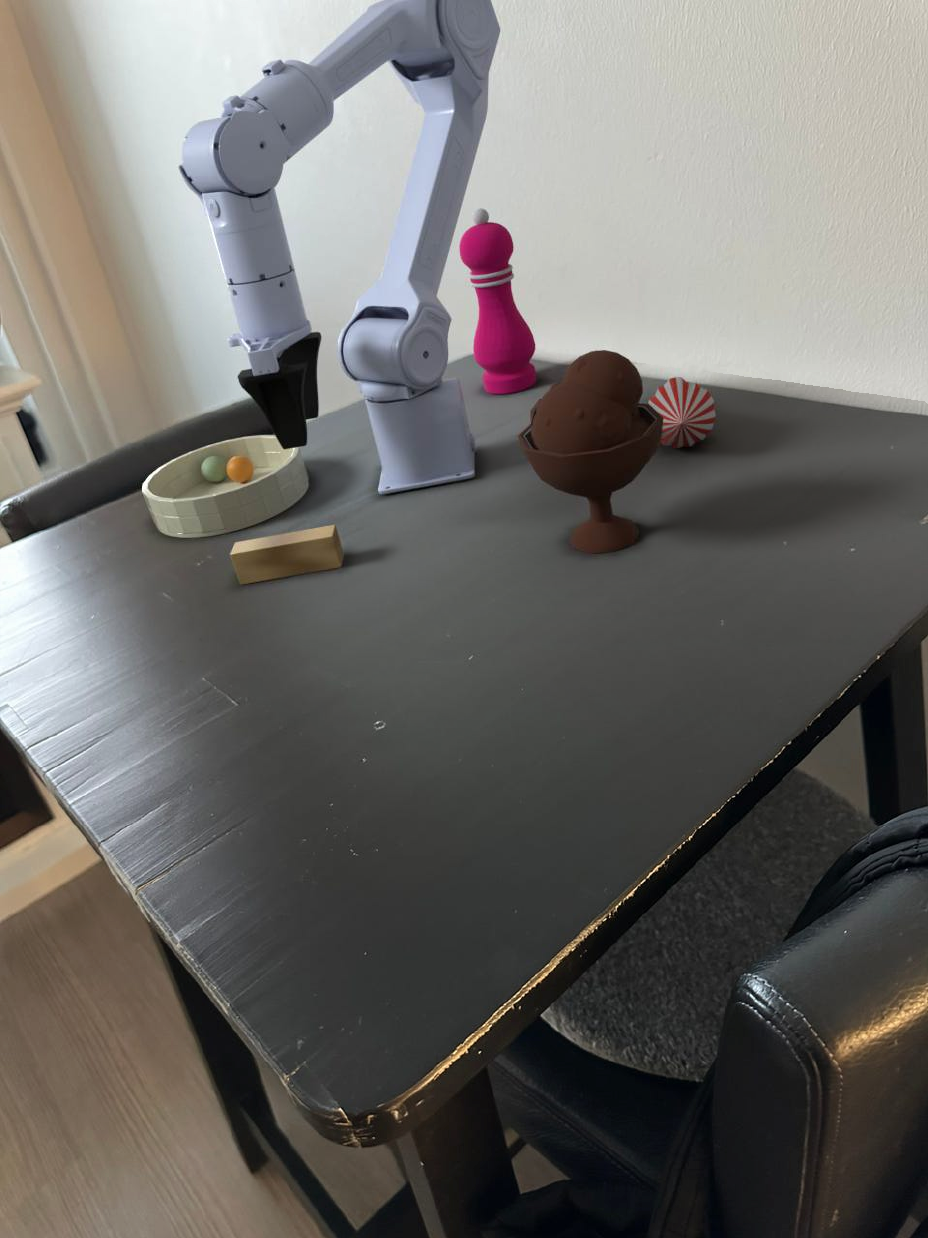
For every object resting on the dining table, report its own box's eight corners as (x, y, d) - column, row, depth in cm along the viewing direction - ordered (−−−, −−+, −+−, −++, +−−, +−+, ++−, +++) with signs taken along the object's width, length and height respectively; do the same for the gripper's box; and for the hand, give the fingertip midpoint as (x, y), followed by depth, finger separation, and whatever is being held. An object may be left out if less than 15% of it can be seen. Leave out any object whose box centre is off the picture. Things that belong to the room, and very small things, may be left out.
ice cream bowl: (592, 499, 89) (568, 328, 82) (701, 521, 82) (684, 336, 74) (510, 552, 84) (476, 374, 76) (618, 581, 76) (592, 387, 69)
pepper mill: (476, 399, 119) (441, 220, 109) (485, 379, 125) (452, 208, 115) (537, 391, 118) (507, 208, 108) (544, 371, 124) (515, 196, 114)
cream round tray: (318, 458, 112) (308, 424, 110) (297, 520, 98) (285, 482, 96) (177, 485, 114) (165, 451, 112) (136, 549, 100) (122, 512, 98)
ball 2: (257, 460, 110) (253, 456, 107) (252, 486, 110) (249, 482, 107) (231, 455, 110) (226, 451, 107) (227, 481, 110) (222, 478, 107)
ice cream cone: (690, 440, 108) (698, 472, 89) (635, 414, 108) (632, 440, 89) (719, 385, 105) (734, 406, 87) (663, 358, 106) (666, 374, 87)
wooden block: (344, 554, 90) (335, 524, 88) (341, 567, 88) (332, 536, 86) (245, 572, 90) (235, 542, 89) (240, 585, 88) (229, 554, 87)
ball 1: (237, 473, 111) (225, 454, 112) (221, 468, 108) (210, 447, 109) (219, 489, 112) (207, 470, 112) (203, 484, 109) (191, 464, 110)
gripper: (231, 268, 92) (271, 414, 98) (193, 303, 79) (242, 467, 85) (308, 253, 91) (343, 401, 97) (282, 286, 78) (324, 454, 85)
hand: (301, 431), depth 91 cm, fingers open, 7 cm apart
